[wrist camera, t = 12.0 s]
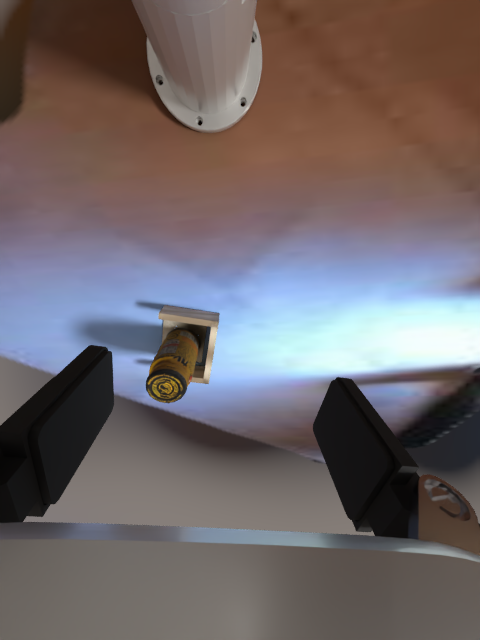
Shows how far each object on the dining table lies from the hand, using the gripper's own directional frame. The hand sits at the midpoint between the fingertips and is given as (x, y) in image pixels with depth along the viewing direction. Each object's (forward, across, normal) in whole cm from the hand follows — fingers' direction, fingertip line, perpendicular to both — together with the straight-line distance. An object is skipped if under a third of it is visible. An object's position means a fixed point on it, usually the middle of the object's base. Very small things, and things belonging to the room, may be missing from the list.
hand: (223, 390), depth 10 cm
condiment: (+28, +5, +14) cm, 32 cm away
